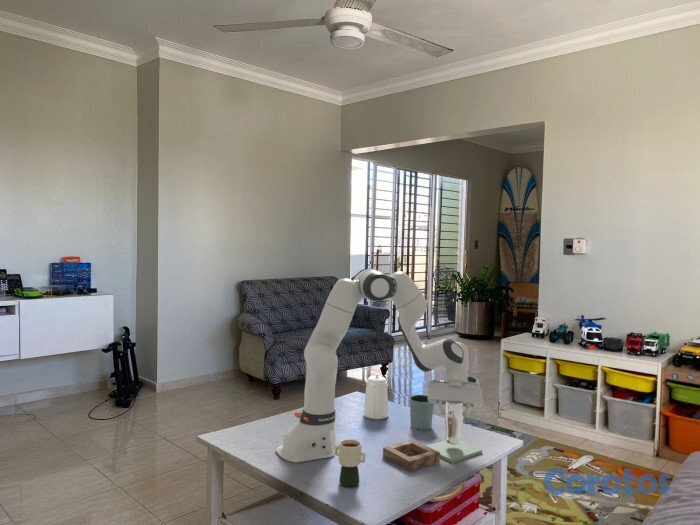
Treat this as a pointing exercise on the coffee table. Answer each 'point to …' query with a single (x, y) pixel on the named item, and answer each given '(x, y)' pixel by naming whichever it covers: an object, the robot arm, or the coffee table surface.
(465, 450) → the sage board
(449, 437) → the silver metal tumbler
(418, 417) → the green plant pot
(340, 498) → the coffee table surface
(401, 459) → the walnut holder
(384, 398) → the coffeepot
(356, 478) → the character mug
